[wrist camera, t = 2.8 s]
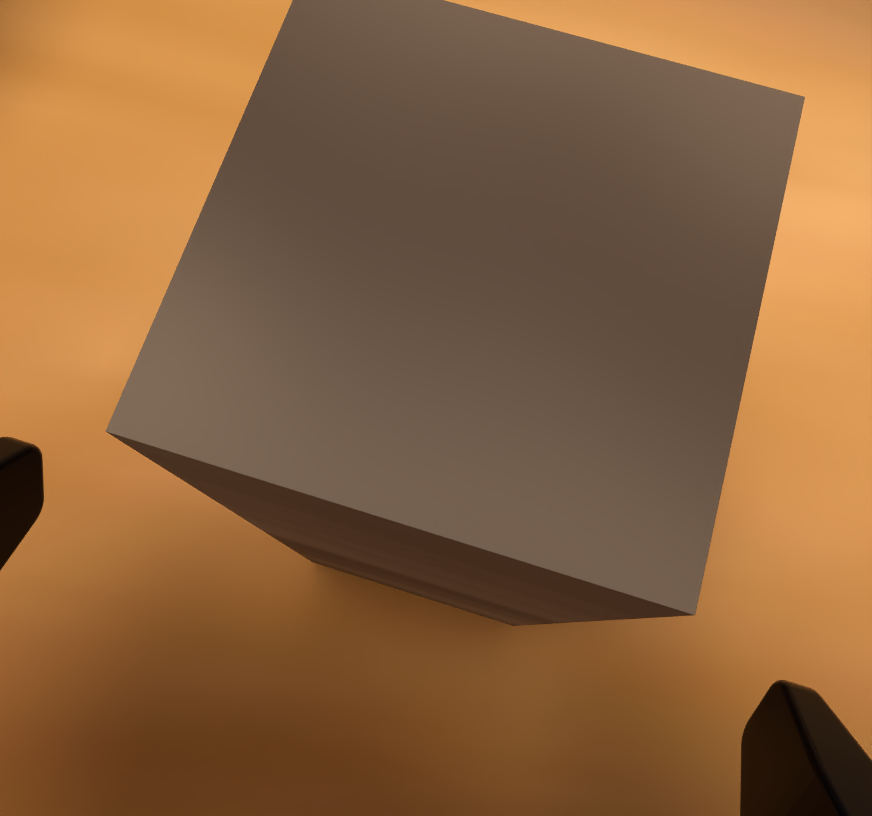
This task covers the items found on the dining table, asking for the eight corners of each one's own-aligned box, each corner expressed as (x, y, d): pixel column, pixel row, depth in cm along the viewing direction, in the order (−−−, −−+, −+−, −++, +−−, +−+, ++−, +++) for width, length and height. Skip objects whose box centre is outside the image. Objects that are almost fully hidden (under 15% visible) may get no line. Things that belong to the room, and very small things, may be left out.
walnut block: (512, 625, 19) (694, 614, 6) (312, 561, 19) (105, 430, 7) (566, 429, 20) (805, 97, 8) (377, 372, 20) (309, -36, 8)
